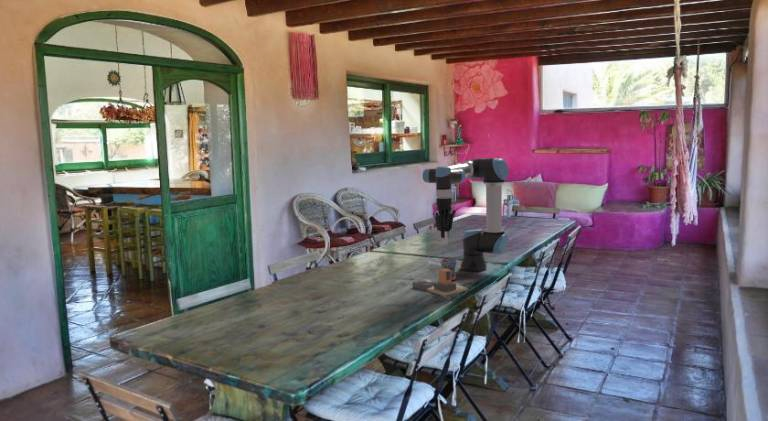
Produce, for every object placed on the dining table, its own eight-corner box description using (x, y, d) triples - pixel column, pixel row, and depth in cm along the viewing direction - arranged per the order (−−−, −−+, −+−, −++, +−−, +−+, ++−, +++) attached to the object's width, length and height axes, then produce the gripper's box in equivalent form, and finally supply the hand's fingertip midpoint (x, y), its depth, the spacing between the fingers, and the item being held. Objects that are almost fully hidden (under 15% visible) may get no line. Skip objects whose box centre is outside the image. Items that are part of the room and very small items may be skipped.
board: (447, 284, 304) (447, 276, 303) (467, 290, 291) (467, 282, 290) (423, 289, 295) (423, 281, 295) (443, 296, 282) (443, 287, 281)
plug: (444, 287, 293) (444, 268, 292) (452, 289, 289) (451, 270, 287) (438, 288, 291) (438, 269, 290) (446, 291, 286) (445, 271, 285)
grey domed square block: (425, 283, 307) (425, 276, 306) (439, 286, 300) (439, 279, 299) (412, 287, 300) (412, 280, 299) (426, 290, 293) (426, 283, 292)
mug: (451, 282, 307) (451, 263, 305) (436, 280, 313) (436, 261, 311) (463, 277, 316) (462, 259, 315) (448, 275, 322) (448, 257, 320)
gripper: (448, 195, 291) (449, 241, 294) (428, 198, 284) (430, 244, 287) (458, 196, 285) (459, 243, 288) (438, 199, 278) (439, 247, 281)
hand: (444, 244), depth 287 cm, fingers closed
